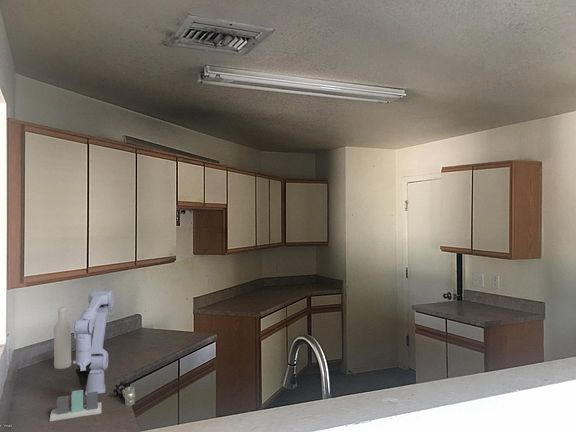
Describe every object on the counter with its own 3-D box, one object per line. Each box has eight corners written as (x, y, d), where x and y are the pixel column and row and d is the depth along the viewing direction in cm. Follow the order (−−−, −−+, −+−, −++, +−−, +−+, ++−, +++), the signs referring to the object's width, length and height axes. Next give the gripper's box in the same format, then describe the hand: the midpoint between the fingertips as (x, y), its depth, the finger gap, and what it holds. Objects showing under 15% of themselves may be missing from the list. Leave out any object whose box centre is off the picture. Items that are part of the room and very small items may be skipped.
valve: (139, 403, 188) (128, 394, 197) (139, 387, 188) (128, 379, 197) (124, 408, 183) (113, 398, 192) (123, 391, 183) (112, 383, 192)
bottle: (74, 363, 236) (73, 306, 236) (67, 369, 228) (66, 309, 228) (58, 364, 236) (57, 306, 235) (51, 369, 228) (50, 309, 228)
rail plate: (52, 411, 180) (52, 395, 180) (101, 404, 187) (101, 388, 187) (49, 421, 172) (49, 404, 172) (101, 413, 178) (101, 397, 178)
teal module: (72, 407, 181) (72, 391, 180) (83, 405, 182) (83, 389, 182) (71, 412, 176) (71, 395, 176) (82, 410, 178) (82, 393, 178)
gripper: (73, 345, 191) (74, 377, 191) (71, 355, 177) (71, 390, 177) (92, 343, 193) (92, 375, 193) (91, 353, 180) (91, 387, 180)
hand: (84, 382), depth 186 cm, fingers open, 7 cm apart
